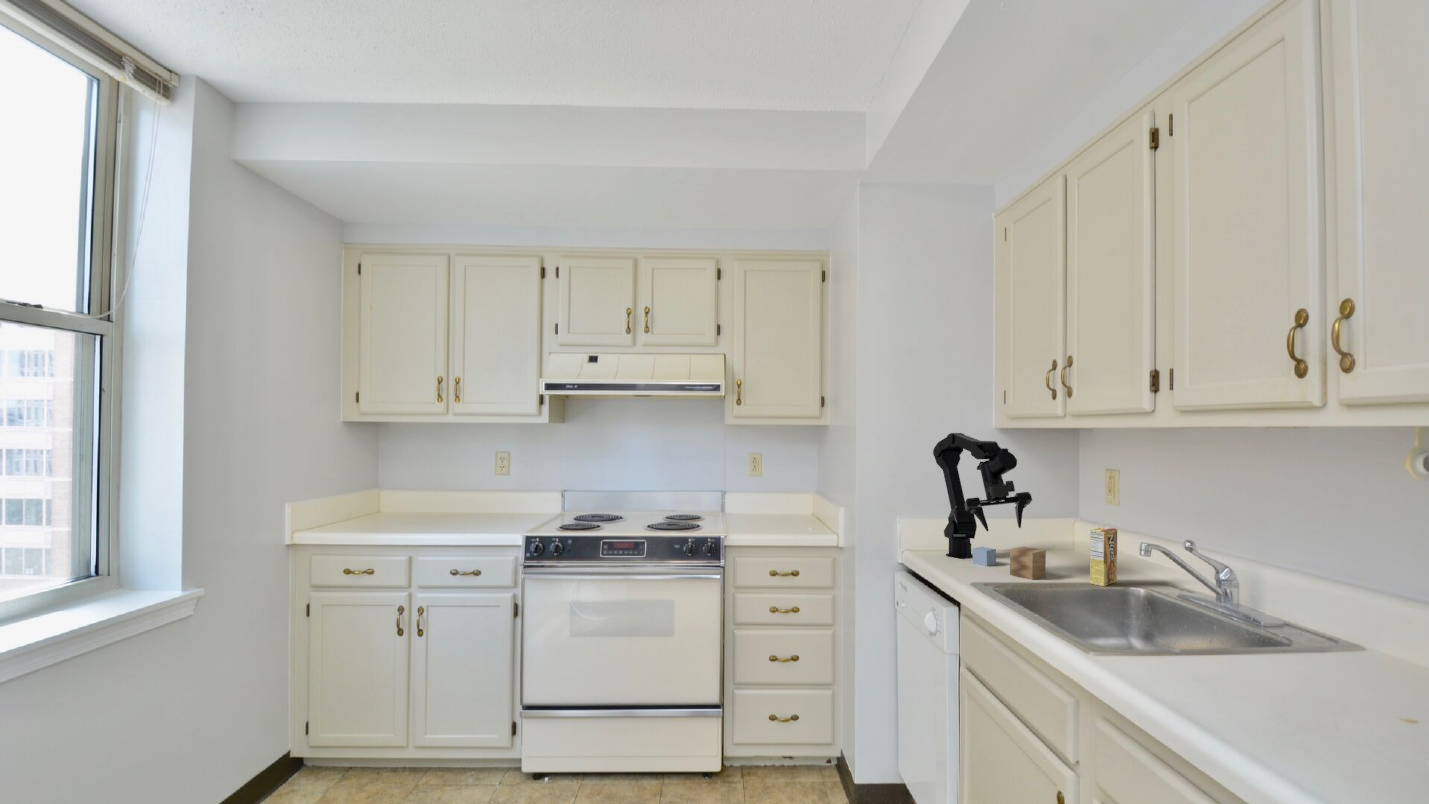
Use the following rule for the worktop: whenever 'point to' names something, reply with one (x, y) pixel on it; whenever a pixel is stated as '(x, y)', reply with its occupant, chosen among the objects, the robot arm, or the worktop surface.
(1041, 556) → the tower top
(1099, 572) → the candy box
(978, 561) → the blue block
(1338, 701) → the worktop surface
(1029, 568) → the tower base
